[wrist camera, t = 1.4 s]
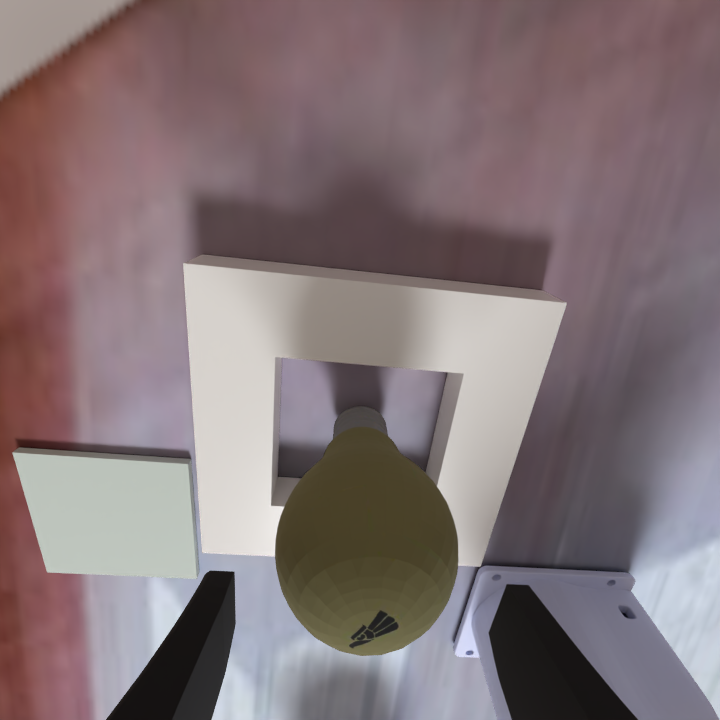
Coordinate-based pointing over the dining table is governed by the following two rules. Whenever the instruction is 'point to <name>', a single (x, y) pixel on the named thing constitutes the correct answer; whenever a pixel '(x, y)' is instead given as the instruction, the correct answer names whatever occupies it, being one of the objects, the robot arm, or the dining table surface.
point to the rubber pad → (111, 512)
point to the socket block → (365, 347)
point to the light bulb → (366, 543)
